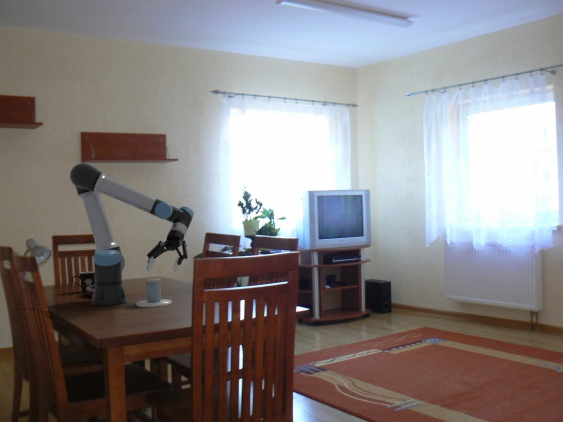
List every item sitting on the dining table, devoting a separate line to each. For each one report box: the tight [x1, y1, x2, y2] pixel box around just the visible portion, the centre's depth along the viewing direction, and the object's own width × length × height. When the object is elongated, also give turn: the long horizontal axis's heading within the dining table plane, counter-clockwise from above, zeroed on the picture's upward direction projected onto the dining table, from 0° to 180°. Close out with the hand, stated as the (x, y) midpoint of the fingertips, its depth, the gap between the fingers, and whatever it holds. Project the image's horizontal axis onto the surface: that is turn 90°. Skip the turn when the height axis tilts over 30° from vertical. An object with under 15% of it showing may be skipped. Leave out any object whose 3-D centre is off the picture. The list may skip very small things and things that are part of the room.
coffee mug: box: [71, 271, 95, 293], centre depth 316 cm, size 12×9×10 cm
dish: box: [86, 284, 95, 297], centre depth 302 cm, size 16×31×5 cm, turn 17°
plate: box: [135, 298, 172, 308], centre depth 265 cm, size 15×15×1 cm
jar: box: [145, 277, 162, 303], centre depth 265 cm, size 6×6×10 cm
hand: (161, 269), depth 270 cm, fingers open, 13 cm apart
